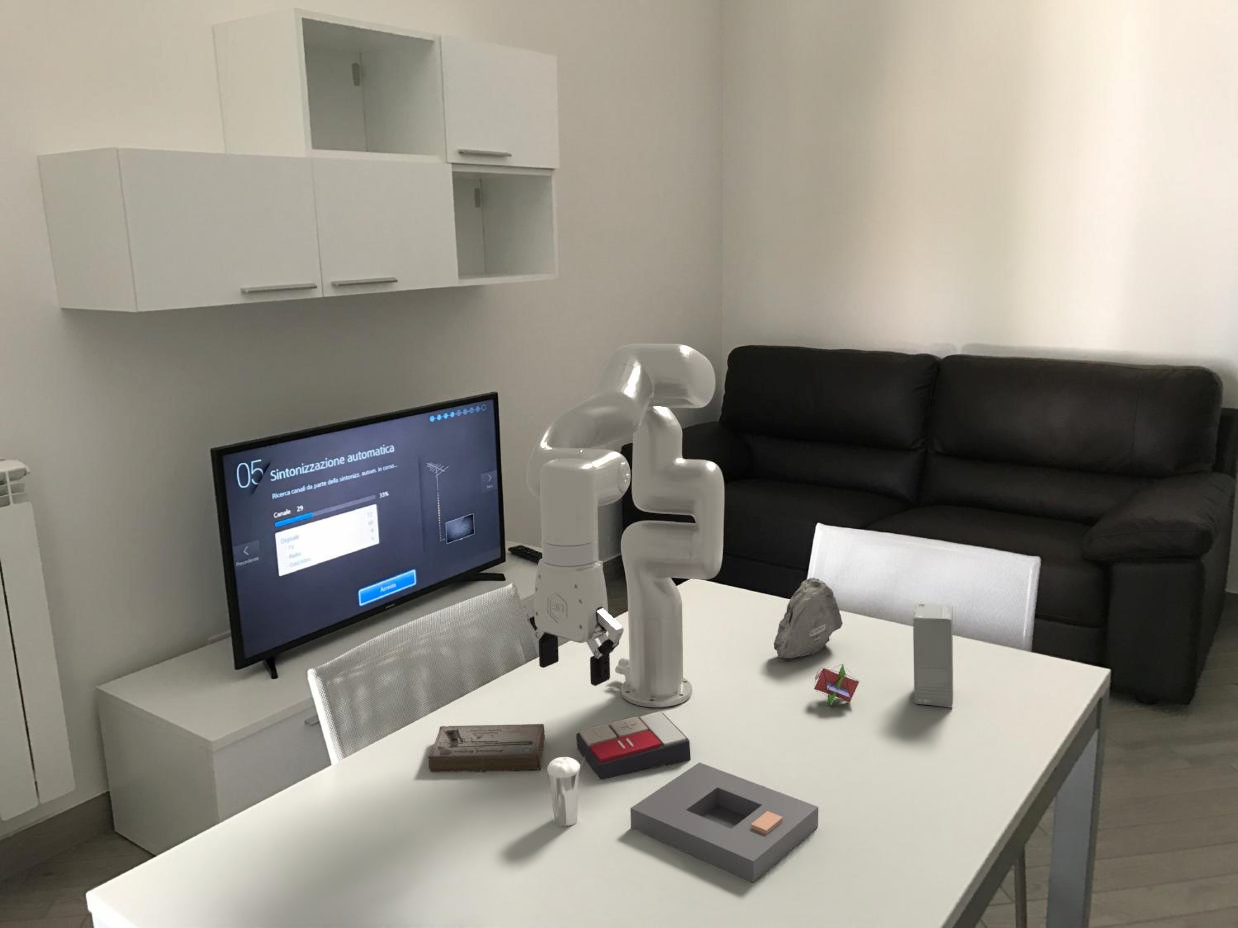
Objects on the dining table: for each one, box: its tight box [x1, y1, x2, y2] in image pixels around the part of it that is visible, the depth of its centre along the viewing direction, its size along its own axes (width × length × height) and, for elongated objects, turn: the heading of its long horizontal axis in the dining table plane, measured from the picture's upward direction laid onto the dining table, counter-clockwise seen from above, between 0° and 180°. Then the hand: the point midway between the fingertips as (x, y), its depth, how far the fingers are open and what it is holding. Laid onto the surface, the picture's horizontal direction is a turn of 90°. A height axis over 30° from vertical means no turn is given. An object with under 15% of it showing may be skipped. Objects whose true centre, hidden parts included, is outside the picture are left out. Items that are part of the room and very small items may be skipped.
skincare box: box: [912, 603, 954, 708], centre depth 177 cm, size 8×7×16 cm
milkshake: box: [546, 756, 585, 828], centre depth 142 cm, size 4×5×10 cm
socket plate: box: [629, 762, 819, 883], centre depth 141 cm, size 20×16×4 cm
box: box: [427, 723, 546, 773], centre depth 162 cm, size 11×17×3 cm, turn 89°
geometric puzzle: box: [813, 663, 860, 708], centre depth 177 cm, size 7×7×8 cm
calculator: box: [575, 711, 692, 781], centre depth 161 cm, size 11×4×15 cm
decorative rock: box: [773, 577, 843, 659], centre depth 198 cm, size 16×7×15 cm, turn 124°
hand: (574, 673), depth 140 cm, fingers open, 9 cm apart
